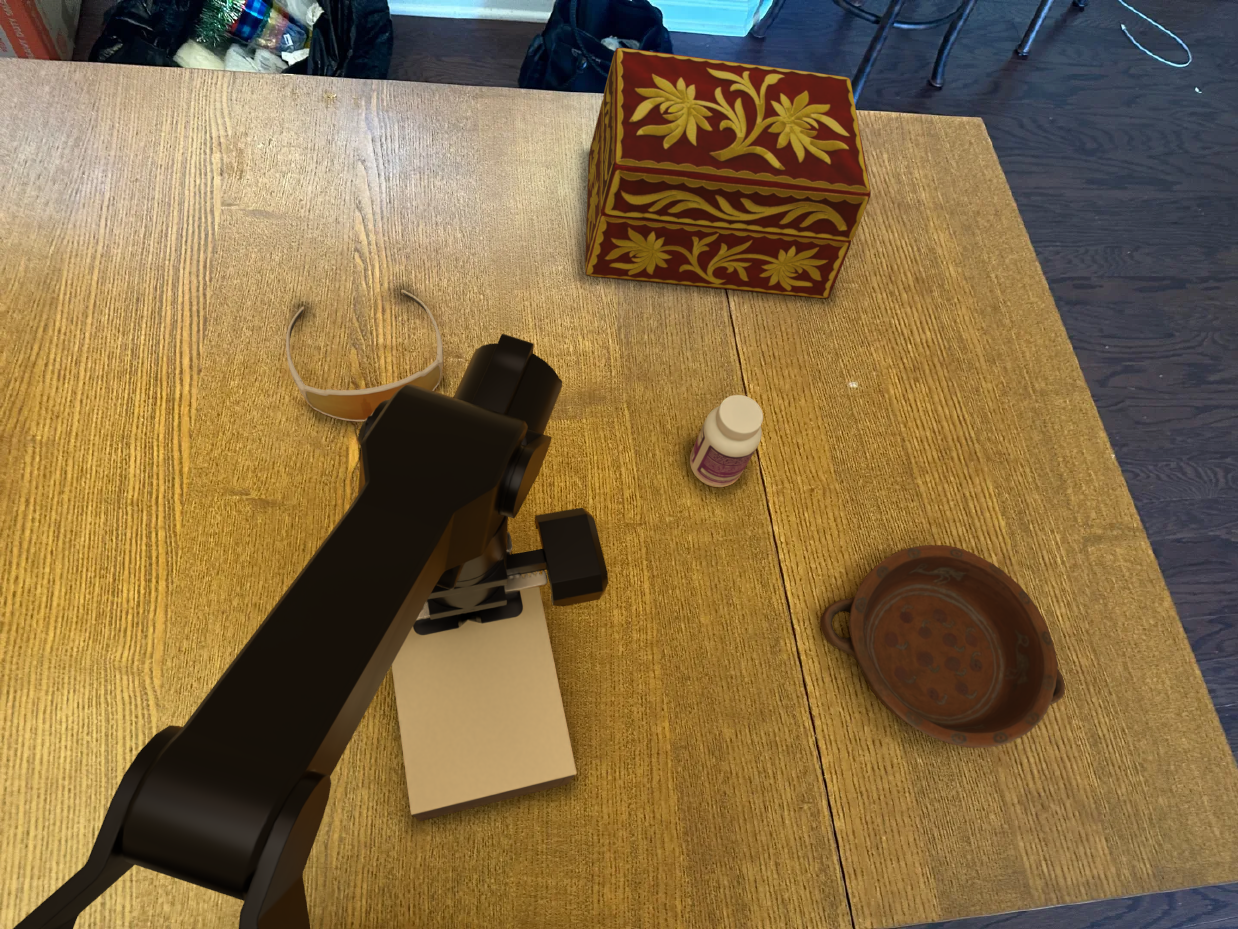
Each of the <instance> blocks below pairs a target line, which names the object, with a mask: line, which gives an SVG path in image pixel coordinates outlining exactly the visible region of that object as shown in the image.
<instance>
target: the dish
mask: <svg viewBox="0 0 1238 929" xmlns="http://www.w3.org/2000/svg"><path fill="white" fill-rule="evenodd" d="M841 612H845V613H848V615H849V618H848V632H849V637H843V636H840V635H839V634H838V633H837V631H835V629H834V626H833V619H834V617H836V615H837V614H839V613H841ZM819 619H820V620H819V624H820V631H821V633H822V634H823V637H824V639H825V640H826V641H827V642H828V643H829V644H830V645H831V646H833V647H834V648H836V649H838V650H839V651H842V652H843V653H845V654H847V655H849V656H851V657H852V658H853V659H855V660H856V663H857V664H858V666H859V668H860V671H861V673H862V675H863V677H864V680H865V682H866V684H867V685H868V688H869V689H870V690H871V692H872V693H873V695H874V696H875V697H876V698H877V700H878V701H879V702H880V703H881V704H882V705H883V706H884V708H886V709H887V710H888V711H889V712H890V713H891V714H893V715H894V716H895V717H896V718H898V719H899V720H901V721H902V722H904V723H905V724H907V725H909V726H910V727H912V728H914V729H916V730H917V731H919V732H921V733H922V734H924V735H927V736H928V737H930V738H934V739H935V740H938V741H941V742H943V743H946V744H950V745H954V746H958V747H963V748H970V749H987V748H993V747H1000V746H1004V745H1008V744H1010V743H1012V742H1014V741H1016V740H1018V739H1020V738H1023V736H1025V735H1027V734H1028V733H1030V732H1031V731H1032V730H1033V729H1034V728H1035V727H1037V726H1038V725H1039V724H1040V723H1041V721H1043V719H1044V717H1045V715H1046V714H1047V712H1048V711H1049V708H1050V706H1051V705H1054V704H1056V703H1058V702H1059V701H1061V700H1062V699H1063V697H1064V695H1065V692H1066V685H1065V679H1064V677H1063V674H1062V672H1061V671H1060V669H1059V663H1058V657H1057V652H1056V649H1055V648H1056V647H1055V645H1054V641H1053V639H1052V635H1051V632H1050V629H1049V627H1048V625H1047V623H1046V620H1045V619H1044V617H1043V616H1042V614H1041V611H1040V610H1039V609H1038V607H1037V605H1036V604H1035V602H1034V601H1033V600H1032V599H1031V597H1030V596H1029V594H1028V592H1026V591H1025V589H1023V587H1022V586H1021V585H1020V584H1019V583H1018V582H1017V581H1015V579H1013V578H1012V576H1010V575H1009V574H1008V573H1006V572H1005V571H1004V570H1003V569H1001V568H1000V567H998V566H997V565H996V564H994V563H992V562H990V561H989V560H987V559H985V558H984V557H981V556H980V555H977V554H975V553H973V552H971V551H969V550H966V549H964V548H960V547H956V546H952V545H944V544H938V545H937V544H935V545H934V544H924V545H923V544H922V545H918V546H911V547H907V548H904V549H900V550H898V551H897V552H894V553H893V554H891V555H890V556H889V555H888V556H887V557H886V558H884V559H882V560H881V561H880V562H879V563H878V564H877V565H875V566H874V567H873V568H872V569H871V570H870V571H869V572H868V573H867V575H866V576H865V577H864V578H863V580H862V581H861V583H860V584H859V586H858V588H857V591H856V592H855V595H854V596H852V597H847V598H842V599H839V600H836V601H834V602H832V603H830V604H829V605H827V606H826V608H825V609H824V610H823V612H821V616H820V618H819Z"/></svg>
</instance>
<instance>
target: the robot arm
mask: <svg viewBox="0 0 1238 929" xmlns="http://www.w3.org/2000/svg"><path fill="white" fill-rule="evenodd" d="M534 347H535V343H534V342H531V341H527V340H524V339H522V338H518V337H515V336H512V335H508V334H505V333H501V335H500V337H499V339H498V341H497V343H496V342H495V343H487V344H483V345H481V346H479V347H478V348H476V350H475V351H474V353H473V354H472V356H471V358H470V360H469V363H468V365H467V366H466V369H465V370H464V372H463V375H462V377H461V379H460V381H459V384H458V385H457V388H456V390H455V391H454V392H455V393H454V394H453V396H450V395H446V394H443V393H440V392H437V391H435V390H434V391H431V390H428V389H425V388H422V387H419V386H415V385H412V384H408V385H405V386H403V387H402V388H400V389H399V390H398V391H396V392H395V393H394V395H393V396H392V397H391V399H389V400H385V401H383V402H381V403H380V404H379V405H378V406H377V408H376V409H375V410H374V412H373V414H372V415H369V416H368V418H367V419H366V420H365V421H364V422H362V424H361V425H360V428H359V431H358V436H357V442H358V444H359V446H360V449H359V455H358V463H359V473H358V475H359V476H358V485H357V495H356V497H355V498H354V500H353V502H352V503H351V505H349V507H348V508H347V510H346V511H345V512H344V514H343V515H342V517H341V518H340V519H339V520H338V522H337V523H336V524H335V526H334V527H333V529H331V531H330V532H329V534H328V535H327V536H326V537H325V539H324V540H323V541H322V542H321V544H320V545H319V547H318V548H317V549H316V551H315V552H314V553H313V555H312V556H311V557H310V559H309V560H308V561H307V563H306V564H305V565H304V567H303V568H302V569H301V570H300V572H299V573H298V574H297V576H296V577H295V578H294V580H293V581H292V583H290V585H289V586H288V587H287V589H286V590H285V591H284V593H283V594H282V595H281V597H280V598H279V599H278V601H277V602H276V604H274V606H273V608H272V609H271V610H270V611H269V613H268V614H267V615H266V617H265V618H264V619H263V621H262V622H261V623H260V624H259V626H257V629H256V630H255V631H254V633H253V634H252V635H251V637H250V638H249V639H248V640H247V642H246V643H245V644H244V646H243V647H242V648H241V650H240V651H239V652H238V653H237V655H236V656H235V657H234V659H233V660H232V661H231V663H230V664H229V666H228V667H227V668H226V669H225V670H224V672H223V673H222V674H221V676H220V677H219V679H218V680H217V681H216V682H215V684H214V685H213V686H212V687H211V689H210V690H209V692H208V693H207V694H206V696H205V697H204V698H203V700H202V701H201V702H200V703H199V705H198V706H197V708H196V709H195V710H194V711H193V713H192V714H191V715H190V717H189V718H188V719H187V721H186V722H185V723H184V725H182V726H181V725H171V724H170V725H168V726H166V727H165V728H163V729H162V730H160V731H158V732H157V733H155V734H154V735H153V737H151V738H150V740H149V741H148V742H147V743H146V744H145V745H144V746H143V747H142V748H141V749H140V750H139V752H138V753H137V755H136V756H135V758H134V759H133V760H132V762H131V763H130V765H129V767H128V768H127V769H126V771H125V772H124V773H123V775H122V777H121V780H120V782H119V784H118V786H117V788H116V790H115V792H114V794H113V796H112V798H111V801H110V803H109V806H108V808H107V811H106V812H105V815H104V817H103V821H102V823H101V825H100V828H99V831H98V833H97V836H96V838H95V841H94V843H93V846H92V849H91V851H90V854H89V856H88V858H87V861H86V862H85V864H84V865H83V866H82V867H81V868H80V869H79V870H78V871H77V872H75V873H74V874H73V875H71V877H69V878H68V879H67V880H66V881H65V882H63V884H62V885H61V886H60V887H58V888H57V889H56V890H55V891H54V892H53V893H52V894H50V895H49V896H48V897H47V898H46V899H45V900H44V901H42V902H41V903H40V904H38V905H37V907H35V908H34V909H33V910H32V911H31V912H30V913H29V914H27V915H26V916H25V917H24V918H23V919H22V920H21V921H19V923H17V924H16V925H15V926H14V927H13V928H12V929H74V927H75V925H76V923H77V920H78V917H79V916H80V915H81V913H82V912H83V911H84V910H86V909H87V908H88V907H89V906H90V905H92V903H94V902H96V900H97V899H99V897H100V896H102V895H103V894H104V893H105V892H106V891H107V890H108V889H110V887H112V886H113V885H114V884H115V883H116V882H117V881H118V880H119V879H121V878H122V877H123V876H124V875H125V874H126V873H127V872H129V871H130V870H131V869H132V868H133V867H134V866H137V867H140V868H144V869H147V870H149V871H152V872H155V873H158V874H161V875H165V876H167V877H171V878H172V879H173V878H174V879H176V880H179V881H182V882H186V883H188V884H191V885H195V886H198V887H201V888H204V889H205V890H206V889H207V890H210V891H213V892H216V893H219V894H221V895H225V896H227V897H231V898H234V899H237V900H241V901H243V903H242V906H241V909H240V912H239V919H238V929H312V927H311V922H310V916H309V908H308V904H307V903H308V901H307V895H306V889H305V888H306V887H305V883H304V873H305V872H304V871H305V868H306V866H307V863H308V860H309V858H310V855H311V852H312V849H313V846H314V844H315V842H316V838H317V835H318V832H319V830H320V827H321V824H322V821H323V818H324V815H325V812H326V809H327V805H328V802H329V799H330V793H331V789H332V779H331V776H332V774H333V773H334V771H335V770H336V768H337V766H338V764H339V762H340V760H341V758H342V756H343V754H344V752H345V751H346V749H347V748H348V746H349V743H350V742H351V740H352V738H353V737H354V735H355V733H356V731H357V729H358V728H359V725H360V724H361V722H362V720H363V718H364V716H365V714H366V713H367V711H368V709H369V707H370V706H371V703H372V702H373V700H374V698H375V696H376V694H377V692H378V690H379V689H380V687H381V686H382V683H383V682H384V680H385V679H386V676H387V674H388V672H389V671H390V669H391V668H392V663H393V661H394V660H395V658H396V656H397V654H398V652H399V651H400V649H401V647H402V645H403V643H404V641H405V640H406V638H407V636H408V634H409V632H410V630H411V629H412V627H413V629H414V631H415V632H416V633H417V634H419V635H428V634H433V633H438V632H443V631H448V630H453V629H458V628H460V627H461V626H462V625H463V624H464V623H465V622H467V621H468V620H469V621H473V622H477V623H481V624H483V623H489V622H494V621H499V620H504V619H509V618H514V617H517V616H519V615H520V614H521V613H522V611H523V604H522V599H521V594H520V590H525V589H530V588H535V587H539V588H541V587H546V586H547V585H548V583H549V587H550V592H551V594H550V600H551V605H552V607H553V606H554V607H562V608H563V607H569V606H574V605H579V604H584V603H589V602H594V601H599V600H601V598H602V596H603V595H604V593H605V592H606V590H607V587H608V585H609V574H608V573H609V572H608V568H607V564H606V560H605V555H604V552H603V549H602V544H601V540H600V536H599V531H598V527H597V524H596V520H595V517H594V516H593V515H592V514H591V513H590V512H589V511H588V510H587V509H585V508H584V507H577V508H571V509H564V510H560V511H559V510H558V511H553V512H548V513H546V512H545V513H541V514H536V515H534V525H535V530H537V532H538V537H539V542H540V546H541V548H537V549H532V550H527V551H521V552H516V553H513V548H514V546H513V541H512V537H511V533H510V532H509V531H508V528H509V518H511V519H515V518H517V515H518V514H519V512H520V510H521V508H522V507H523V504H524V503H525V500H526V499H527V497H528V495H529V493H530V491H531V489H532V487H533V486H534V484H535V482H536V480H537V478H538V477H539V474H540V472H541V470H542V469H541V468H542V467H543V464H544V461H545V458H546V456H547V454H548V451H549V449H550V445H551V442H552V439H553V438H552V436H549V435H547V434H545V431H546V429H547V426H548V424H549V421H550V419H551V416H552V413H553V411H554V408H555V405H556V404H557V401H558V398H559V396H560V394H561V390H562V389H563V380H562V379H561V378H560V377H559V375H558V373H557V372H556V371H555V369H554V368H553V367H552V366H551V365H550V364H549V363H548V362H547V361H546V360H544V359H543V358H541V357H540V356H538V355H537V354H535V353H534ZM533 572H536V575H534V573H533ZM540 572H541V573H540ZM527 573H531V575H530V577H529V576H528V574H527ZM522 574H525V577H524V578H523V577H522Z"/></svg>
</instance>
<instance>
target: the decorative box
mask: <svg viewBox="0 0 1238 929" xmlns="http://www.w3.org/2000/svg"><path fill="white" fill-rule="evenodd" d="M859 125H860V124H859V119H858V114H857V108H856V103H855V97H854V93H853V86H852V83H851V79H850V77H847V76H842V75H835V74H828V73H821V72H820V73H819V72H813V71H806V70H805V71H804V70H796V69H790V68H781V67H775V66H766V65H758V64H752V63H751V64H750V63H743V62H735V61H729V60H722V59H721V60H720V59H712V58H706V57H705V58H704V57H698V56H690V55H682V54H675V53H674V54H673V53H666V52H659V51H651V50H643V49H635V48H627V47H616V48H615V50H614V52H613V56H612V60H611V63H610V67H609V71H608V75H607V79H606V84H605V87H604V91H603V98H602V100H601V104H600V107H599V111H598V115H597V119H596V123H595V127H594V131H593V134H592V139H591V143H590V148H589V151H588V163H587V190H586V191H587V192H586V194H587V196H586V226H585V227H586V228H585V255H584V256H585V257H584V258H585V259H584V271H585V275H586V276H590V277H595V278H596V277H597V278H606V279H609V278H610V279H617V280H625V281H626V280H627V281H636V282H647V283H657V284H659V283H660V284H666V285H667V284H669V285H679V286H691V287H700V288H708V289H709V288H711V289H722V290H729V291H730V290H731V291H739V292H740V291H741V292H751V293H760V294H761V293H763V294H774V295H782V296H783V295H784V296H794V297H805V298H814V299H815V298H816V299H829V298H830V297H831V294H832V292H833V289H834V287H835V285H836V282H837V280H838V278H839V275H840V272H841V270H842V267H843V265H844V263H845V260H846V258H847V255H848V253H849V250H850V247H851V246H852V241H853V240H854V238H855V235H856V233H857V231H858V228H859V226H860V223H861V221H862V218H863V216H864V214H865V211H866V208H867V206H868V204H869V201H870V198H871V194H872V191H871V183H870V178H869V174H868V173H869V172H868V166H867V163H866V156H865V152H864V146H863V140H862V135H861V130H860V126H859Z"/></svg>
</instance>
